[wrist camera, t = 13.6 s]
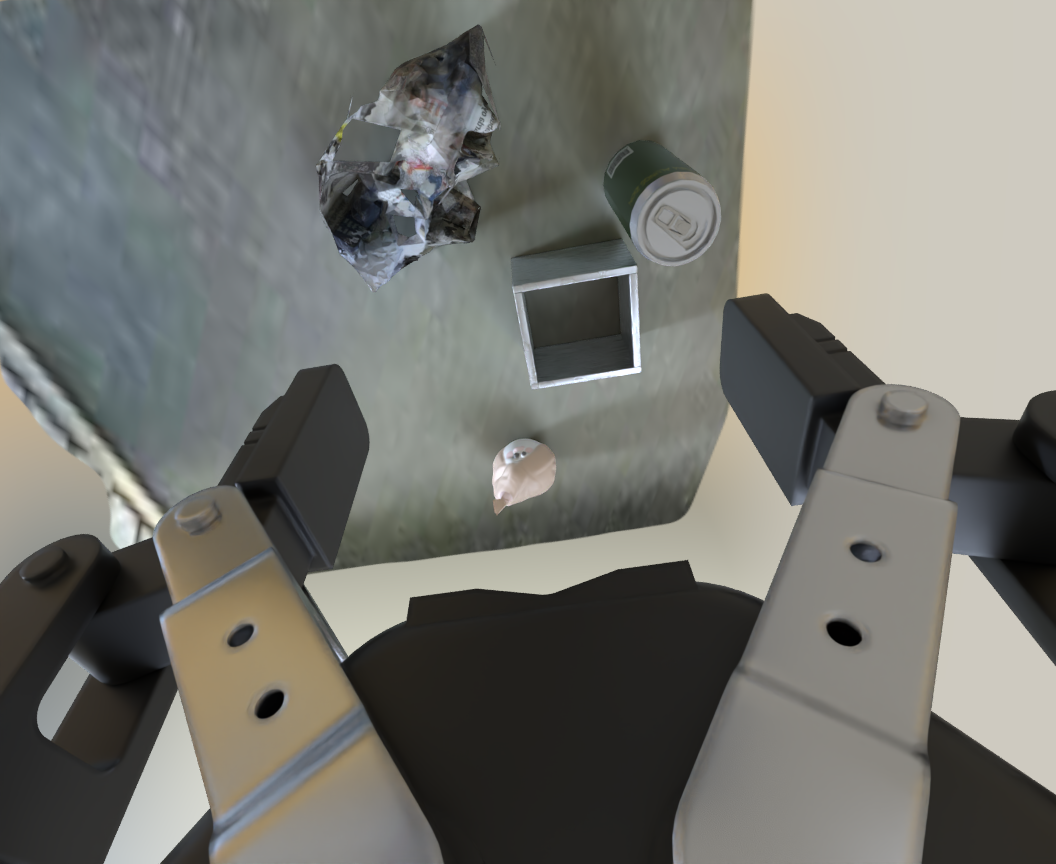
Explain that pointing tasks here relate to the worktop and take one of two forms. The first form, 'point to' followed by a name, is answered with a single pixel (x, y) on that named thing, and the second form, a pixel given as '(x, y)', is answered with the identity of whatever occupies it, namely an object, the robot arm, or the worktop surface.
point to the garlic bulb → (522, 472)
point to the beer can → (662, 203)
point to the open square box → (584, 355)
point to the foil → (415, 162)
